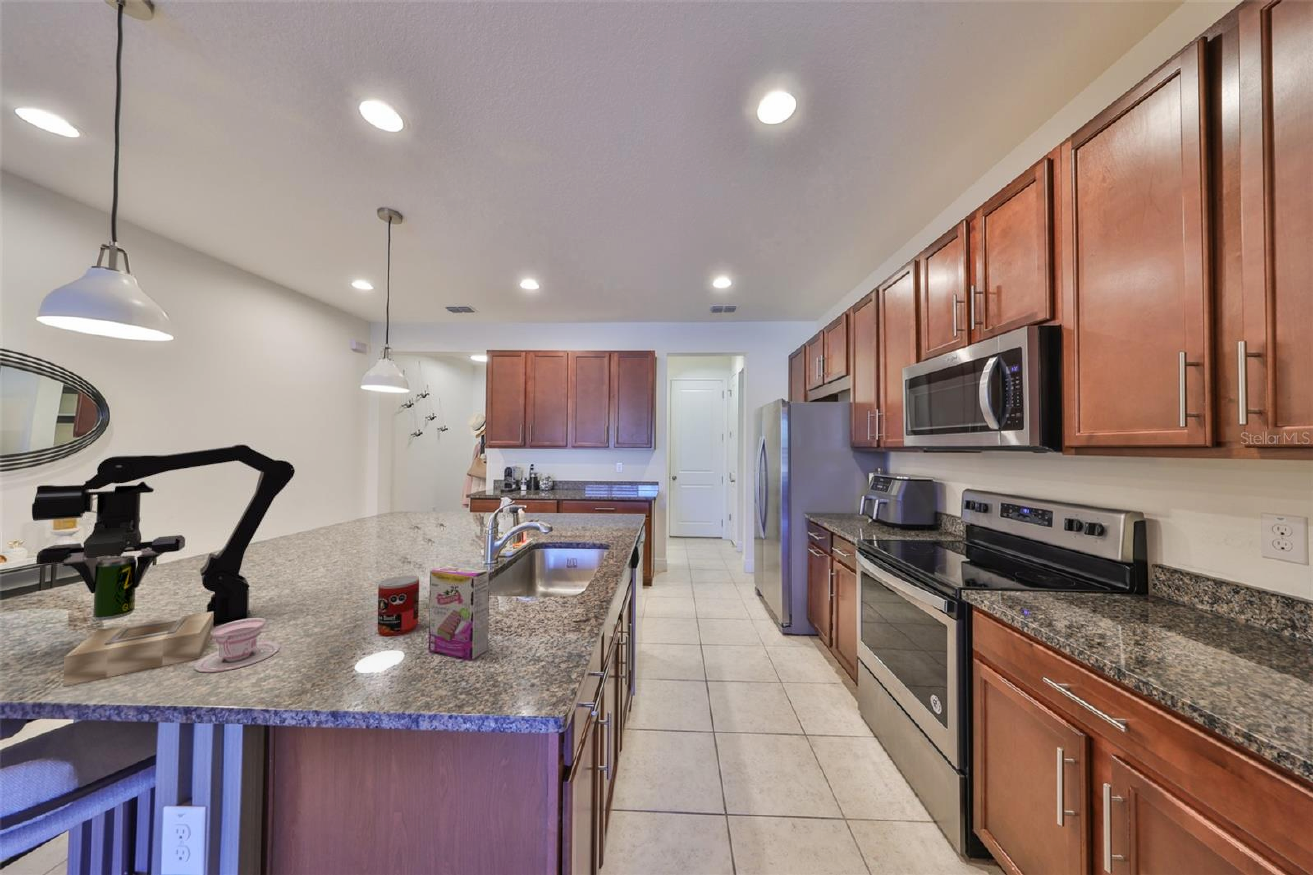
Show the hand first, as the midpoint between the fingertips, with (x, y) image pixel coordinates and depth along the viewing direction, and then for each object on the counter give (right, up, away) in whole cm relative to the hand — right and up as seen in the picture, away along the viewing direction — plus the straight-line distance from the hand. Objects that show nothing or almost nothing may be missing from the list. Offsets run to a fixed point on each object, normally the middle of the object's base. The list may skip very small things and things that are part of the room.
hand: (115, 590), depth 90 cm
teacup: (+32, -11, -6) cm, 35 cm away
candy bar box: (+74, -11, -4) cm, 75 cm away
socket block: (+14, -11, -6) cm, 19 cm away
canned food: (+55, -12, +7) cm, 57 cm away
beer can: (0, -6, 0) cm, 6 cm away
